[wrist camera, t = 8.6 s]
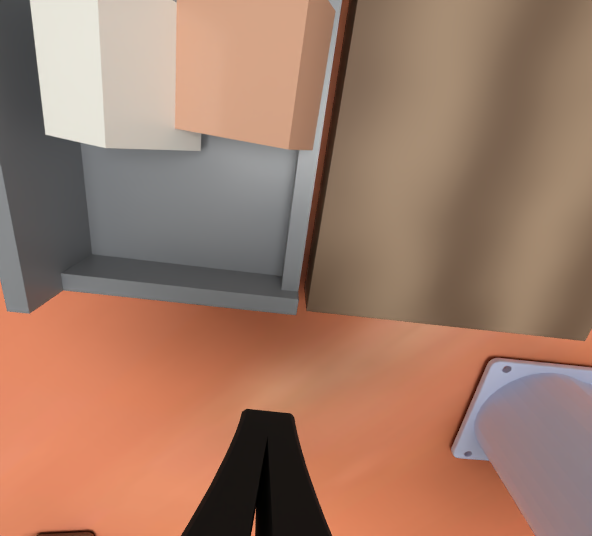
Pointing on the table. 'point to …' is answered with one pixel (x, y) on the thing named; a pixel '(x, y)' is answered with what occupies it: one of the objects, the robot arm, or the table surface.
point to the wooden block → (69, 534)
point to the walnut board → (460, 168)
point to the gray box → (144, 206)
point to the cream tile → (109, 72)
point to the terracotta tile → (252, 69)
